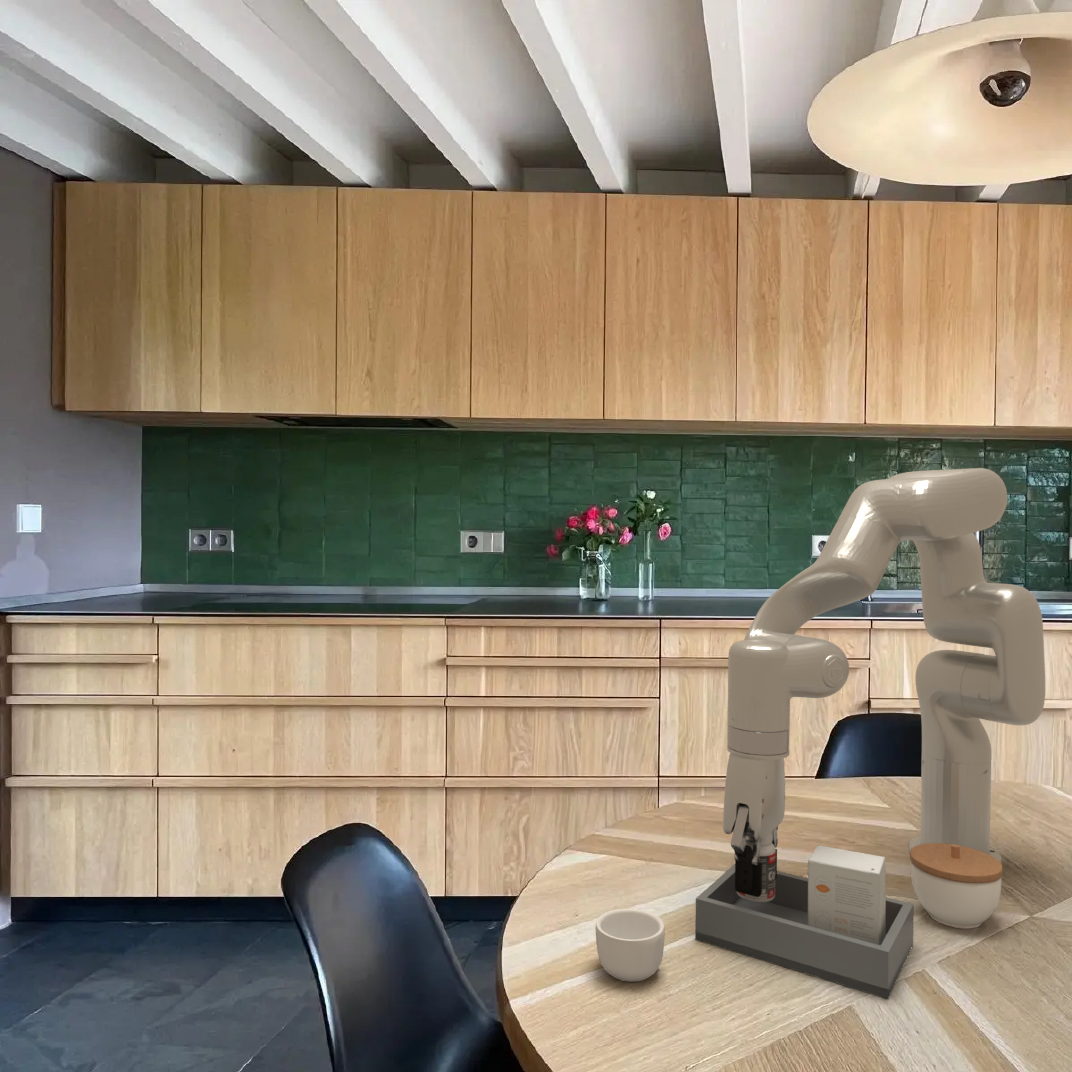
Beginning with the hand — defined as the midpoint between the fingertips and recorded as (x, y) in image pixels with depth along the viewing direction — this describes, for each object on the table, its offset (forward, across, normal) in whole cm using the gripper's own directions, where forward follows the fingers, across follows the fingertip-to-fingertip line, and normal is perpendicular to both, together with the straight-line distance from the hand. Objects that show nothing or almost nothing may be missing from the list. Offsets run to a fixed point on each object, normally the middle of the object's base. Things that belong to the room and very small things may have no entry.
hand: (756, 884), depth 104 cm
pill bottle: (+2, 0, 0) cm, 2 cm away
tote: (+6, 0, +6) cm, 8 cm away
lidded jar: (+6, -18, +20) cm, 28 cm away
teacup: (+6, +17, -8) cm, 20 cm away
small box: (+5, 0, +11) cm, 12 cm away
